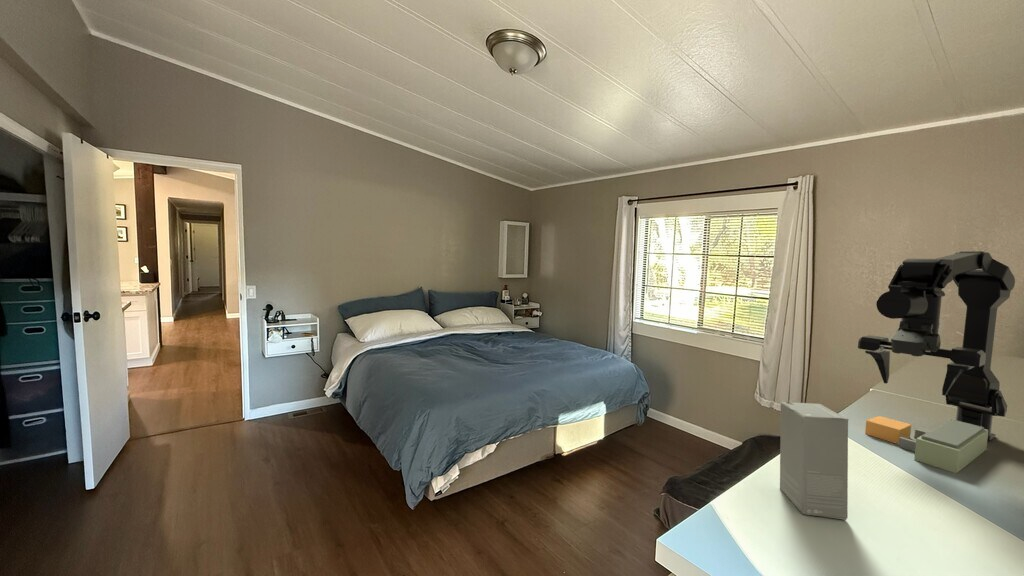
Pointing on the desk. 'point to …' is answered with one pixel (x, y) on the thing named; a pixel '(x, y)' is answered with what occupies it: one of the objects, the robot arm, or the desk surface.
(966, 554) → the desk surface
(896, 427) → the amber cuboid
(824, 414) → the skincare box
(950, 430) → the sage green lidded box
